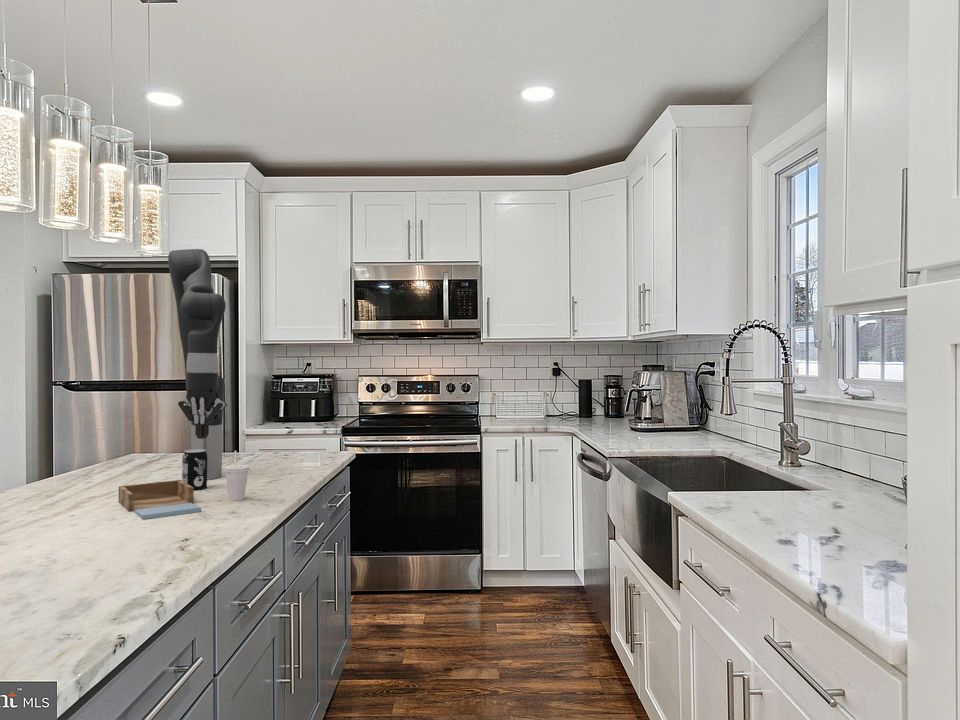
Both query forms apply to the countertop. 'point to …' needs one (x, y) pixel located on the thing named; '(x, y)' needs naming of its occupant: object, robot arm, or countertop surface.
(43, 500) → the countertop surface
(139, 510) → the flat blue panel
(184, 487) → the tray
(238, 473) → the smoothie
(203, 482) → the beverage can
